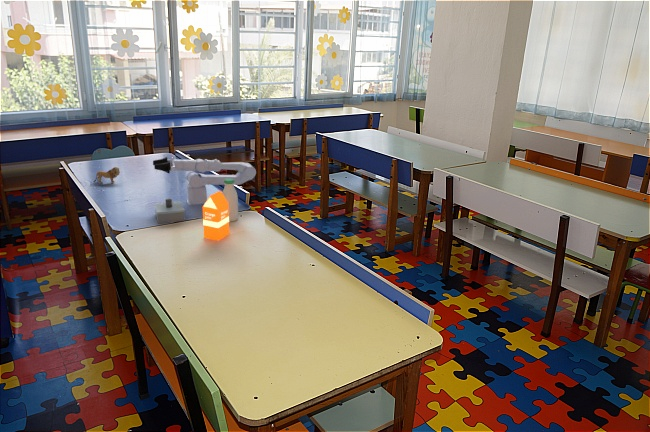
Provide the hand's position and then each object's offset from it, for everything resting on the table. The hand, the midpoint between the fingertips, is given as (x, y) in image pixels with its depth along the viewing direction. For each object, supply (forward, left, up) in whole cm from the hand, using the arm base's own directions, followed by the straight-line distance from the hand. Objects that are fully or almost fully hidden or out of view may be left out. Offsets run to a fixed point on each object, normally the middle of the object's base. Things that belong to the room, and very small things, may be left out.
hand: (153, 164), depth 246 cm
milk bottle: (-31, +28, -22) cm, 47 cm away
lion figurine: (+22, -48, -22) cm, 58 cm away
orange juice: (-21, +46, -22) cm, 55 cm away
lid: (-4, +19, -17) cm, 26 cm away
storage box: (-4, +19, -22) cm, 29 cm away
